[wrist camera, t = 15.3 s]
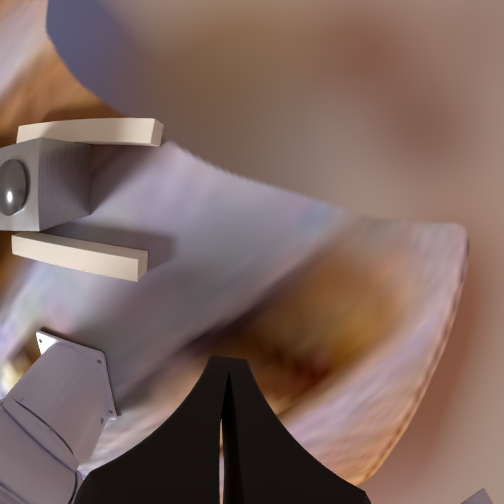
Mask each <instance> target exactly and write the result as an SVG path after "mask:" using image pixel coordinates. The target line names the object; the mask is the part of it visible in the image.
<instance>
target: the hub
mask: <svg viewBox="0 0 504 504" xmlns="http://www.w3.org/2000/svg"><path fill="white" fill-rule="evenodd" d="M91 156H92V145H88V144H82V143H76V142H70V141H64V140H57V139H50V138H42V137H40V138H35V139H31V140H27V141H24V142H20V143H16V144H13V145H9V146H6V147H2V148H0V230H11V231H41V230H44V229H47V228H50V227H53V226H56V225H59V224H62V223H65V222H69V221H72V220H75V219H78V218H82V217H85V216H88V215H90V177H91Z"/></svg>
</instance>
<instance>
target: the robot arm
mask: <svg viewBox="0 0 504 504" xmlns="http://www.w3.org/2000/svg"><path fill="white" fill-rule="evenodd" d="M36 336H37V340H38V344H39V347H40V351H41V354H42V355H41V356H40V357H39V358H38V359H37V361H36V362H35V363H34V364H33V365H32V366H31V367H30V368H29V369H28V371H27V372H26V373H25V374H24V375H23V376H22V377H21V379H20V380H19V381H18V382H17V383H16V384H15V386H14V387H13V388H12V389H11V390H10V392H9V393H8V394H7V395H6V396H5V398H3V399H2V400H0V504H220V491H219V452H220V423H221V418H222V439H223V456H224V490H223V504H371V502H370V500H369V498H368V497H367V495H366V493H365V491H363V490H361V489H359V488H358V487H356V486H354V485H352V484H351V483H349V482H347V481H345V480H344V479H342V478H340V477H339V476H337V475H336V474H334V473H333V472H332V471H330V470H329V469H328V468H326V467H325V466H324V465H322V464H321V463H320V462H319V461H318V460H316V459H315V458H314V457H313V456H312V455H311V454H310V453H308V452H307V451H306V450H305V449H304V448H303V447H302V446H301V445H300V444H299V443H298V442H297V441H296V440H295V439H294V438H293V436H292V435H291V434H290V433H289V432H288V431H287V429H286V428H285V427H284V426H283V424H282V423H281V422H280V420H279V419H278V418H277V416H276V415H275V413H274V412H273V411H272V409H271V407H270V406H269V404H268V403H267V401H266V399H265V398H264V396H263V394H262V392H261V391H260V389H259V387H258V385H257V383H256V381H255V379H254V376H253V374H252V372H251V369H250V367H249V364H248V362H247V361H246V360H245V359H236V358H228V357H220V356H211V357H209V360H208V363H207V365H206V367H205V369H204V371H203V373H202V375H201V377H200V378H199V380H198V381H197V383H196V384H195V386H194V388H193V389H192V390H191V392H190V393H189V395H188V396H187V397H186V398H185V400H184V401H183V402H182V403H181V405H180V406H179V407H178V408H177V409H176V410H175V412H174V413H173V414H172V415H171V416H170V417H169V418H168V419H167V420H166V421H165V422H164V423H163V424H162V425H161V426H160V427H159V428H157V429H156V430H155V431H154V432H153V433H152V434H151V435H149V436H148V437H147V438H146V439H144V440H143V441H142V442H140V443H139V444H137V445H136V446H135V447H133V448H132V449H130V450H129V451H127V452H126V453H124V454H123V455H121V456H119V457H118V458H116V459H114V460H112V461H110V462H108V463H106V464H104V465H103V466H101V467H99V468H97V469H94V470H92V471H91V472H90V473H89V474H88V475H87V477H86V478H85V479H84V480H83V477H82V475H81V473H80V472H79V471H78V470H77V468H78V466H79V465H81V464H83V463H85V462H86V461H87V460H88V459H89V458H90V457H91V455H92V453H93V451H94V449H95V446H96V444H97V442H98V439H99V437H100V435H101V433H102V430H103V428H104V426H105V424H106V421H107V419H111V420H116V419H117V414H116V410H115V406H114V401H113V397H112V392H111V388H110V383H109V378H108V372H107V367H106V361H105V356H104V354H103V353H102V352H101V351H98V350H95V349H91V348H88V347H85V346H82V345H79V344H76V343H73V342H70V341H67V340H64V339H61V338H59V337H56V336H53V335H50V334H48V333H45V332H43V331H40V330H39V331H38V332H37V333H36ZM461 504H493V502H492V500H491V499H490V497H489V495H488V494H487V492H486V490H485V489H484V488H483V489H481V490H480V491H478V492H477V493H475V494H474V495H472V496H471V497H469V498H468V499H466V500H465V501H464V502H462V503H461Z"/></svg>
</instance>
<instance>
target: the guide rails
mask: <svg viewBox="0 0 504 504" xmlns="http://www.w3.org/2000/svg"><path fill="white" fill-rule="evenodd" d="M163 127H164V125H163V124H162V123H161V122H159V121H158V120H156V119H151V118H96V119H77V120H64V121H54V122H45V123H37V124H30V125H23V126H19V130H18V135H17V142H16V143H20V142H24V141H27V140H31V139H35V138H40V137H42V138H50V139H57V140H64V141H70V142H76V143H82V144H115V145H139V146H155V147H160V144H161V138H162V133H163ZM11 236H12V252H13V254H16V255H19V256H23V257H27V258H31V259H35V260H39V261H43V262H47V263H51V264H55V265H59V266H63V267H68V268H72V269H76V270H81V271H85V272H90V273H95V274H99V275H104V276H109V277H114V278H119V279H124V280H129V281H134V282H138V281H139V280H140V279H141V278H142V277H143V276H144V275H145V274H146V272H147V263H148V251H144V250H138V249H132V248H126V247H120V246H114V245H108V244H102V243H96V242H90V241H84V240H78V239H72V238H66V237H61V236H55V235H49V234H44V233H38V232H33V231H23V232H20V233H17V234H14V235H11Z"/></svg>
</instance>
